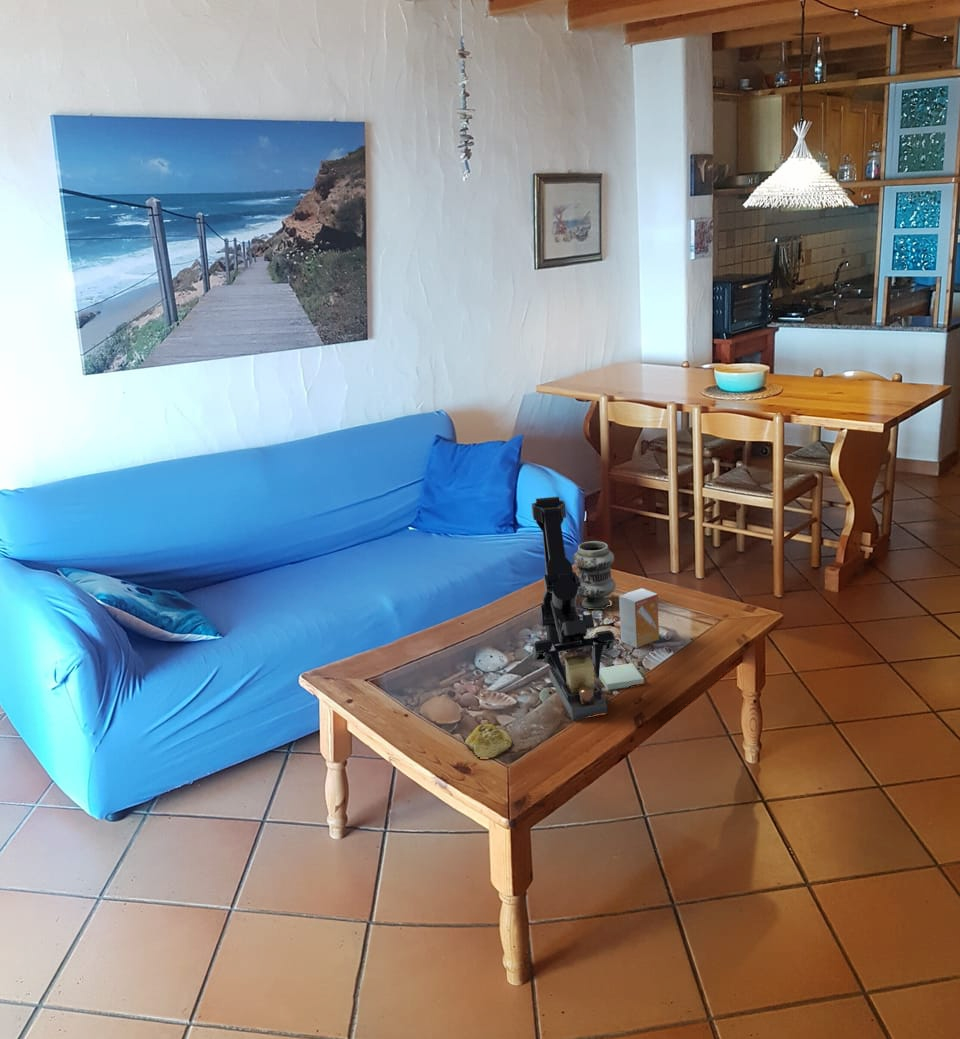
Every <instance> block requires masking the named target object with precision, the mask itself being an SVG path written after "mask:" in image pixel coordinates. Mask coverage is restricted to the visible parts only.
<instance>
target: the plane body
mask: <svg viewBox="0 0 960 1039" xmlns="http://www.w3.org/2000/svg"><path fill="white" fill-rule="evenodd" d="M562 668H563V671H564V674H565V677H566V665H565V664H564V665H562ZM548 669H549V671H548V672H549V680H550V682H551V684H552V685H553V687H554V689H555V690H556V692H557V694H558V697H559V699H560V700H561V701H562V703H563V705H564V707H565V709H566V711H567V713H568V715H569V716H570V718H571V721H579V720H584V719H583V718H585V717H588V716H593V715H596V714H601V713H606V712H607V713H608V703H607V701H606V699H605V698H604V697H603V695H602V692H601V689H600V687H598V685H597V682H595V681H594V686H595V691H593V688H592V687H589V686H584V687H581V688H580V689H579V694H573V695H570V694H569V692H568V690H567V680H566V683H563V681H562V680H561V678H560V677H559V676H558V674H557V673H556V671H555V670H554V669H553V668H552V667H551V666H550V667H549V668H548ZM585 719H586V718H585Z"/></svg>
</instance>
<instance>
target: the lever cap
mask: <svg viewBox="0 0 960 1039" xmlns="http://www.w3.org/2000/svg"><path fill="white" fill-rule="evenodd" d="M564 665H566V680H567V690H568V692H569V694H570V695H573V694H579V689H580V688H581V687H584V686H589V687H592V688H593V691H595V686H594V682H595V671H594V666H593V660H592V657H590V655H589V654H588V653H583V654H577V655H573V656H572V655H571V656H565V657H564Z"/></svg>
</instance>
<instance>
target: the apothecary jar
mask: <svg viewBox="0 0 960 1039" xmlns="http://www.w3.org/2000/svg"><path fill="white" fill-rule="evenodd" d="M614 561H615V555H614V553H613V551H611V550H610V549H609V545H608V544H607V543H606V542H603V541H599V540H590V541H585V542H581V543H579V545H578V547H577V552H575V553H574V554H573V557H572V562H573V564H574V565H575V566H576V567H577V576H578V577H579V579H580V584H581V586H579V589H578V593H577V595H579V596H580V597H582V598H583V599H584V598H585V599H584V600H583V601H582V606H583V607H585V608H588V609H602V608H606V606H607V605H610V602H609V600H608V599H607V598H608V596H609V595H611V594H613V592H614V591H615V590H616V581H615V579H614V578H612V574H611V565H612V564H613V563H614ZM606 609H607V608H606ZM602 610H603V609H602Z"/></svg>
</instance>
